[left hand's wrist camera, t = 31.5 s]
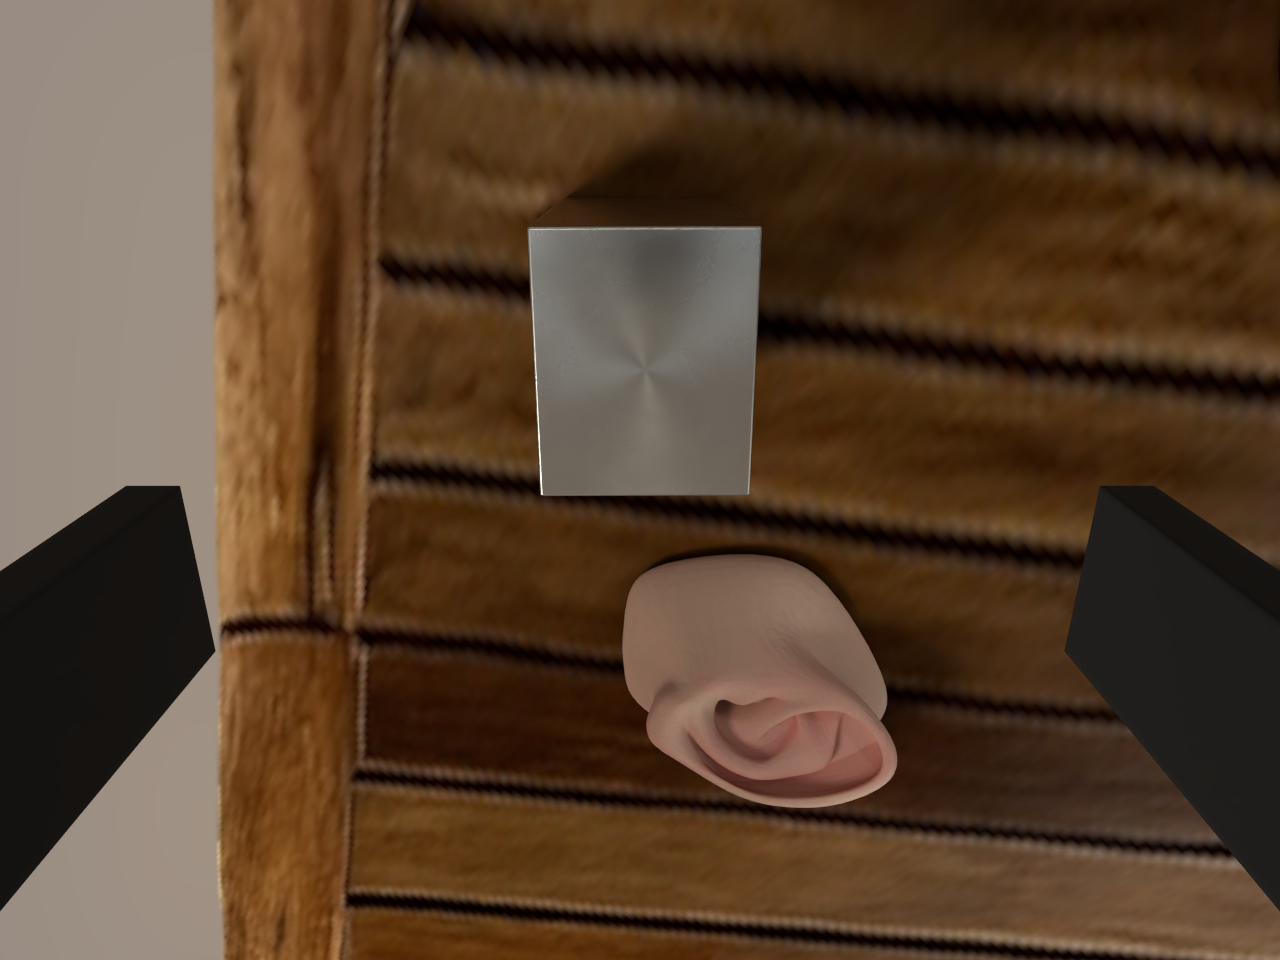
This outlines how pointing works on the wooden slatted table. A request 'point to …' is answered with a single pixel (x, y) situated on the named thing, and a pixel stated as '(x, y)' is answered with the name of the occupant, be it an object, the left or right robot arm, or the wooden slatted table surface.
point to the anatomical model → (757, 680)
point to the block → (644, 345)
